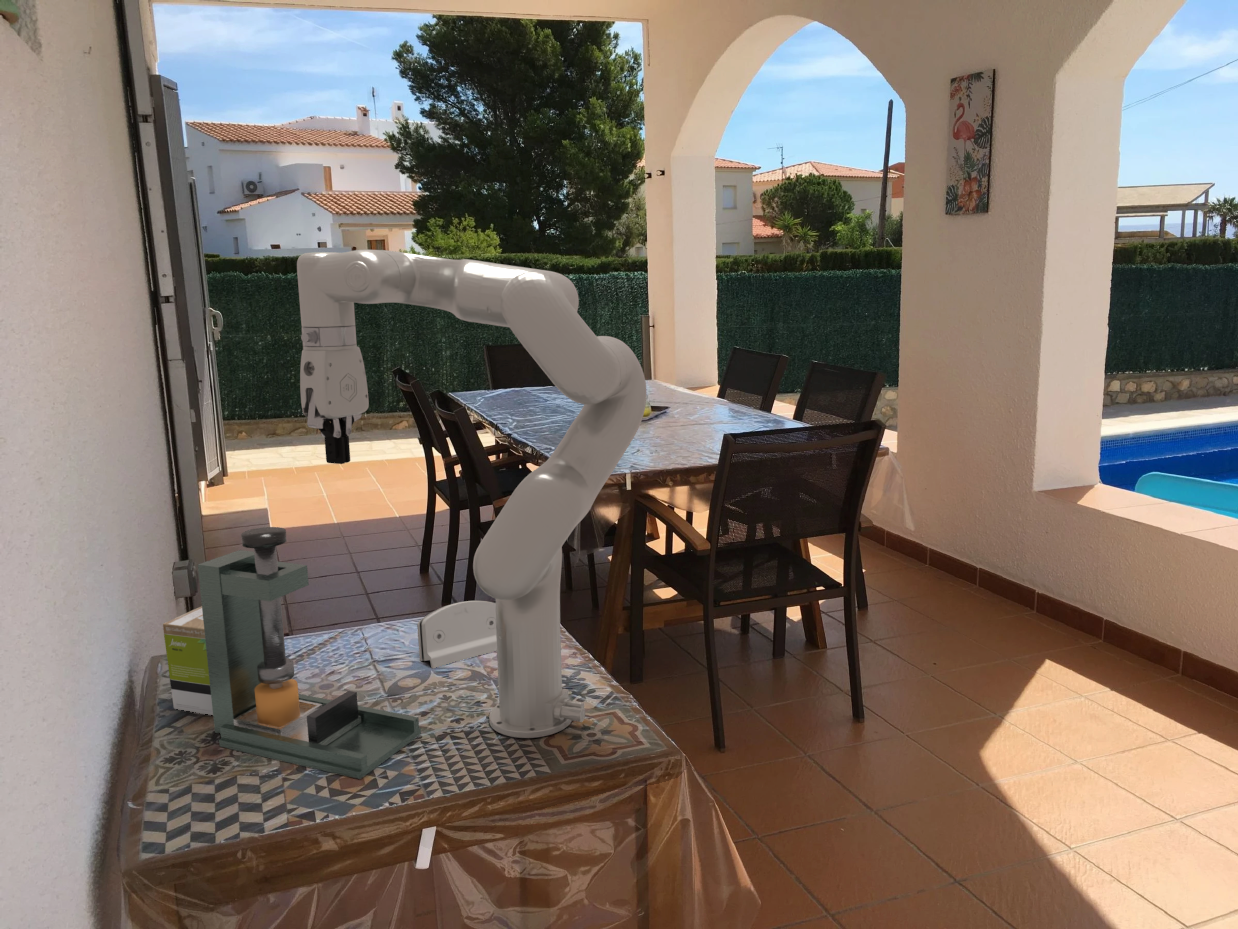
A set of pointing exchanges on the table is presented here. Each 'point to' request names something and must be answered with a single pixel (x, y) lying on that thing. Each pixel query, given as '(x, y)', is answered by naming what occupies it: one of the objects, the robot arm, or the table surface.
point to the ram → (270, 606)
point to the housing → (277, 702)
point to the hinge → (457, 632)
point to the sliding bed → (312, 720)
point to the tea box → (188, 662)
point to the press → (235, 676)
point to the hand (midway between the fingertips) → (338, 462)
